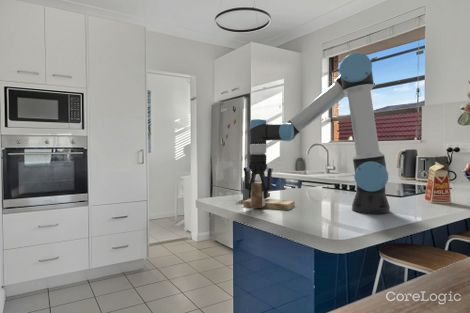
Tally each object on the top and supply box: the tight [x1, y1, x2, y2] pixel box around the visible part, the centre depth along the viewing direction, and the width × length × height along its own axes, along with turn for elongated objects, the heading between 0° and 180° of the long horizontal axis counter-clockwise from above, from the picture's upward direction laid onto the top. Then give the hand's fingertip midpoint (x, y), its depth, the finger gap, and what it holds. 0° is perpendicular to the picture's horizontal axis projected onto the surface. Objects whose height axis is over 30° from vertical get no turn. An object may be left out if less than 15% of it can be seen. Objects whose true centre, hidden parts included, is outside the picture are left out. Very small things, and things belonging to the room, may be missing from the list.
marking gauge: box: [250, 182, 271, 209], centre depth 151 cm, size 4×16×11 cm, turn 156°
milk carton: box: [423, 161, 452, 205], centre depth 161 cm, size 9×9×20 cm
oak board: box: [242, 198, 296, 211], centre depth 152 cm, size 22×10×3 cm, turn 66°
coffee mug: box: [242, 179, 261, 201], centre depth 170 cm, size 13×10×10 cm
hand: (258, 205), depth 146 cm, fingers closed on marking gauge, 4 cm apart
